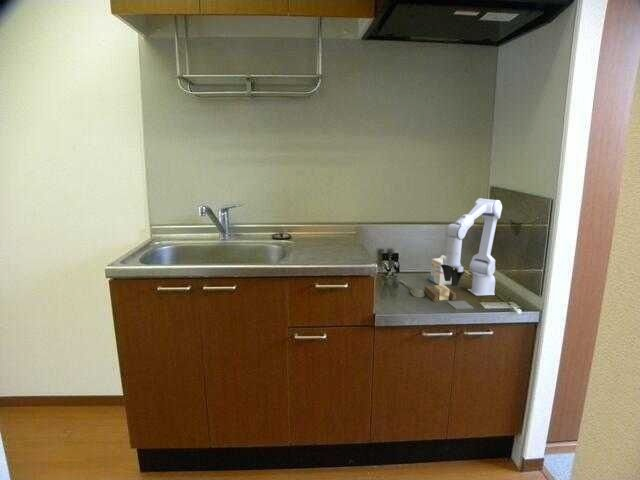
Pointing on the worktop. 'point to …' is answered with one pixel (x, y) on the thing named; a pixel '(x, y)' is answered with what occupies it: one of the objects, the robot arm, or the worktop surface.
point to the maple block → (442, 292)
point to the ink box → (438, 272)
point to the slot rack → (435, 296)
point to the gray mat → (460, 305)
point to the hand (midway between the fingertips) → (450, 283)
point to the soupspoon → (415, 291)
